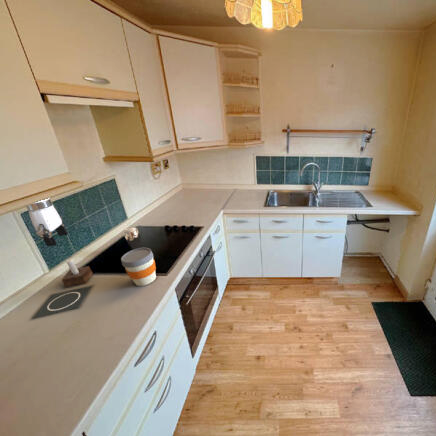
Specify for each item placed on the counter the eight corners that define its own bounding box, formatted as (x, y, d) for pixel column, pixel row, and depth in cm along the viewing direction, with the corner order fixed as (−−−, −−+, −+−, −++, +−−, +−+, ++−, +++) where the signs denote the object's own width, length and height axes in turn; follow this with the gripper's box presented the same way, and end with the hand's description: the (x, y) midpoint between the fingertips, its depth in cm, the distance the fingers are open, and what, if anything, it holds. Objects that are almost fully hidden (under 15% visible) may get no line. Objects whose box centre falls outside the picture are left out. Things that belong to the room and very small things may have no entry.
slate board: (33, 319, 92) (32, 318, 91) (52, 295, 104) (51, 294, 103) (78, 308, 96) (78, 307, 96) (91, 287, 108) (91, 286, 108)
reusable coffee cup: (165, 273, 116) (158, 249, 110) (146, 290, 105) (136, 264, 99) (145, 270, 119) (136, 246, 113) (124, 286, 108) (113, 260, 102)
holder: (66, 288, 108) (61, 279, 106) (73, 277, 115) (69, 269, 113) (86, 283, 110) (82, 275, 108) (92, 273, 117) (88, 265, 115)
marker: (76, 282, 111) (65, 262, 106) (78, 279, 113) (67, 259, 108) (81, 281, 112) (71, 261, 107) (83, 278, 114) (73, 258, 109)
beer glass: (148, 249, 137) (140, 227, 131) (139, 256, 131) (131, 233, 125) (137, 248, 138) (129, 226, 132) (128, 255, 132) (120, 232, 126)
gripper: (40, 199, 102) (58, 233, 109) (13, 214, 87) (36, 251, 94) (61, 197, 104) (77, 230, 111) (38, 211, 89) (58, 248, 97)
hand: (58, 240), depth 103 cm, fingers open, 9 cm apart
